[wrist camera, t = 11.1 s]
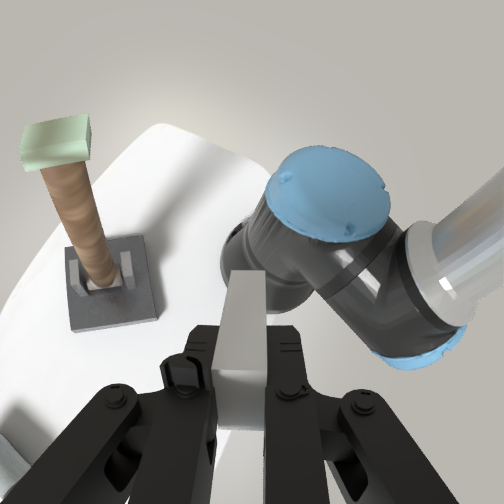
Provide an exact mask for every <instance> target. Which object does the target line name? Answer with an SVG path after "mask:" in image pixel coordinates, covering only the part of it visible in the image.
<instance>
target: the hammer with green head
mask: <svg viewBox="0 0 504 504" xmlns="http://www.w3.org/2000/svg"><path fill="white" fill-rule="evenodd" d="M90 147H91V127H90V121H89V114H82V115H76V116H70V117H65V118H59V119H54V120H50V121H45V122H40V123H36V124H32V125H27V126H25V130H24V133H23V137H22V140H21V144H20V147H19V151H18V154H19V156H20V158H21V161H22V163H23V166H24V168H25V171H26V172H28V171H33V170H37V169H40V171H41V174H42V176H43V179H44V181H45V184H46V186H47V189H48V191H49V193H50V196H51V198H52V201H53V203H54V205H55V208H56V210H57V212H58V214H59V217H60V219H61V221H62V223H63V225H64V228H65V230H66V232H67V234H68V236H69V238H70V240H71V242H72V244H73V246H74V248H75V250H76V252H77V254H78V256H79V258H80V260H81V262H82V264H83V266H84V268H85V276H86V283H87V286H88V289H89V290H96V289H103V288H109V287H116V286H122V285H123V279H122V272H121V267H120V263H113V260H112V257H111V254H110V250H109V247H108V244H107V241H106V238H105V235H104V231H103V228H102V225H101V221H100V218H99V214H98V211H97V207H96V204H95V200H94V196H93V192H92V188H91V184H90V181H89V177H88V173H87V168H86V164H85V161H86V160H90Z"/></svg>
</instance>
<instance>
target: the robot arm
mask: <svg viewBox="0 0 504 504" xmlns="http://www.w3.org/2000/svg"><path fill="white" fill-rule="evenodd" d="M384 188H385V184H384V182H383V180H382V178H381V177H380V176H379V175H378V174H377V172H376V171H375V170H374V169H373V168H372V167H371V166H370V165H369V164H367V163H366V162H364V161H363V160H362V159H361V158H359V157H357V156H356V155H354V154H352V153H350V152H347V151H345V150H342V149H338V148H335V147H331V148H329V147H325V146H309V147H305V148H302V149H299V150H297V151H295V152H293V153H291V154H290V155H289V156H288V157H286V158H285V160H284V161H283V162H282V163H281V165H280V166H279V168H278V170H277V171H276V172H275V173H274V174H273V175H272V176H271V178H270V179H269V181H268V183H267V185H266V189H265V191H264V193H263V195H262V197H261V199H260V201H259V203H258V205H257V207H256V209H255V211H254V213H253V215H252V217H251V218H249V219H247V220H245V221H243V222H242V223H240V224H239V225H238V226H237V227H235V228H234V229H233V231H232V232H231V233H230V235H229V236H228V238H227V240H226V242H225V244H224V246H223V249H222V252H221V258H220V268H221V273H222V277H223V280H224V282H225V285H226V286H227V288H228V289H227V294H226V298H225V303H224V308H223V313H222V318H221V323H220V326H213V325H197V326H196V327H195V328H194V329H193V330H192V331H191V332H190V333H189V336H188V339H187V343H186V345H185V348H184V351H183V353H178V354H175V355H172V356H169V357H168V358H166V359H165V360H163V362H162V363H161V365H160V370H161V375H162V379H163V383H164V389H162V390H160V391H156V392H152V393H144V394H137V393H136V391H135V390H134V389H133V388H132V387H130V386H128V385H126V384H120V383H119V384H111V385H108V386H106V387H104V388H102V389H101V390H100V391H98V392H97V394H96V395H95V396H94V397H93V398H92V399H91V400H90V401H89V402H88V404H87V405H86V406H85V407H84V408H83V409H82V410H81V411H80V412H79V414H78V415H77V416H76V417H75V418H74V419H73V420H72V421H71V423H70V424H69V425H68V426H67V427H66V428H65V429H64V430H63V432H62V433H61V434H60V435H59V436H58V437H57V438H56V439H55V441H54V442H53V443H52V444H51V445H50V446H49V447H48V449H47V450H46V451H45V452H44V453H43V454H42V455H41V457H40V458H39V459H38V460H37V461H36V462H35V463H34V465H33V466H32V467H31V468H30V469H29V470H28V471H27V473H26V474H25V475H24V476H23V477H22V478H21V480H20V481H19V482H18V483H17V484H16V485H15V487H14V488H13V489H12V490H11V491H10V492H9V494H8V495H7V496H6V497H5V498H4V499H3V501H2V502H1V503H0V504H125V503H126V501H127V499H128V498H129V496H130V498H129V501H128V504H210V495H211V488H212V480H213V472H214V464H215V456H216V448H217V437H216V430H217V423H218V429H225V430H259V431H262V430H263V431H264V451H263V456H264V468H263V472H264V473H263V504H330V501H329V494H328V486H327V478H326V471H325V464H324V460H326V462H327V464H328V466H329V468H330V470H331V472H332V474H333V477H334V479H335V481H336V483H337V485H338V487H339V489H340V491H341V493H342V495H343V497H344V499H345V501H346V503H347V504H459V503H458V502H457V501H456V499H455V497H454V496H453V494H452V493H451V492H450V490H449V489H448V487H447V486H446V484H445V483H444V482H443V480H442V479H441V478H440V476H439V475H438V473H437V472H436V470H435V469H434V468H433V466H432V465H431V463H430V462H429V461H428V459H427V458H426V456H425V455H424V454H423V452H422V451H421V449H420V448H419V447H418V445H417V444H416V442H415V441H414V440H413V438H412V437H411V436H410V434H409V433H408V431H407V430H406V429H405V427H404V426H403V424H402V423H401V422H400V420H399V419H398V418H397V416H396V415H395V413H394V412H393V411H392V409H391V408H390V407H389V405H388V404H387V403H386V401H385V400H384V399H383V398H382V397H381V396H380V395H379V394H378V393H375V392H373V391H371V390H365V389H358V390H353V391H350V392H348V393H346V394H345V395H344V397H343V398H342V399H340V398H335V397H329V396H326V395H322V394H320V393H318V392H316V391H315V390H314V389H313V388H312V387H311V385H309V383H308V380H307V374H306V368H305V362H304V356H303V351H302V345H301V338H300V333H299V332H298V331H297V330H296V329H295V328H294V327H293V325H290V326H289V325H287V326H266V314H280V313H284V312H288V311H290V310H292V309H294V308H296V307H297V306H299V305H300V304H302V303H303V302H305V301H306V300H307V299H308V297H310V295H311V294H312V293H313V291H314V290H316V292H317V293H318V294H319V295H320V296H321V297H322V298H323V299H324V300H325V301H326V302H327V303H328V304H329V306H331V308H332V309H333V310H334V311H335V312H336V313H337V314H338V315H339V316H340V317H341V318H342V319H343V320H344V322H345V323H347V325H348V326H349V327H350V328H351V329H352V330H353V331H354V332H355V333H356V334H357V335H358V337H359V338H360V339H361V340H362V341H363V342H364V343H365V344H366V345H367V347H368V348H369V349H370V350H371V351H372V353H374V354H375V355H377V356H378V357H380V358H381V359H382V360H383V361H385V362H386V363H387V364H388V365H389V366H391V367H393V368H395V369H398V370H416V369H420V368H423V367H426V366H428V365H431V364H432V363H434V362H436V361H438V360H439V359H441V358H442V357H443V354H444V352H445V351H447V350H452V349H453V348H454V347H455V346H456V345H457V343H458V342H459V341H460V339H461V338H462V336H463V334H464V333H465V330H466V327H467V324H468V323H469V322H470V321H471V320H472V318H473V317H474V314H475V311H476V308H477V304H478V301H479V300H481V299H483V298H484V297H486V296H488V295H490V294H491V293H493V292H495V291H496V290H498V289H500V288H502V287H503V286H504V167H503V168H502V169H501V170H500V171H499V172H498V173H496V175H494V176H493V177H492V178H491V179H490V180H489V181H488V182H486V183H485V184H484V185H483V186H482V187H481V188H480V189H478V190H477V191H476V192H475V193H474V194H473V195H472V196H470V197H469V198H468V199H467V200H466V201H464V202H463V203H462V204H461V205H460V206H459V207H457V208H456V209H455V210H454V211H453V212H451V213H450V214H449V215H448V216H446V217H445V218H444V219H443V220H442V221H440V222H439V223H438V224H435V223H431V222H427V221H417V222H416V223H414V224H412V225H411V226H410V227H409V228H408V229H407V230H405V231H404V232H403V231H402V230H401V229H400V228H399V226H397V224H396V223H395V222H393V220H392V219H391V218H390V217H389V216H388V215H389V212H390V207H391V206H390V196H389V193H388V192H387V191H385V190H384Z"/></svg>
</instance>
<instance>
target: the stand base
mask: <svg viewBox="0 0 504 504" xmlns="http://www.w3.org/2000/svg"><path fill="white" fill-rule="evenodd" d="M107 244H108V247H109V250H110V254H111V257H112V260H113V263H120V267H121V272H122V279H123V285H122V286H116V287H109V288H103V289H96V290H89V289H88V286H87V283H86V276H85V268H84V266H83V264H82V262H81V260H80V258H79V256H78V254H77V252H76V250H75V248H74V246H71V247H65V270H66V285H67V298H68V308H69V317H70V325H71V331H73V332H74V333H79V332H86V331H93V330H100V329H107V328H113V327H120V326H126V325H132V324H139V323H145V322H151V321H157V317H156V312H155V307H154V301H153V296H152V290H151V284H150V278H149V272H148V266H147V259H146V253H145V246H144V238H143V235H142V236H135V237H129V238H122V239H115V240H109V241H107Z"/></svg>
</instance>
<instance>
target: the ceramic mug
mask: <svg viewBox="0 0 504 504" xmlns="http://www.w3.org/2000/svg"><path fill="white" fill-rule="evenodd" d="M30 468H31V466H30V465H29V464H28V463H27V462H26V461H25V460H24V459H23V458H22V457H21V455H20V454H19V453H18V452H17V451H16V450H15V449H14V448H13V447H12V446H11V444H10V443H9V442H8V441H7V439H6V438H5V437H4V436H3V435H2V434H1V433H0V497H1V498H2V499H4V498H5V497H6V496H7V495H8V494H9V492H10V491H11V490H12V489H13V488H14V487H15V485H16V484H17V483H18V482H19V481H20V480H21V478H22V477H23V476H24V475H25V474H26V473H27V471H28V470H29V469H30Z"/></svg>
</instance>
